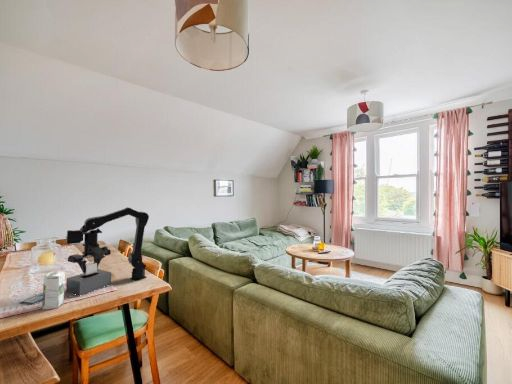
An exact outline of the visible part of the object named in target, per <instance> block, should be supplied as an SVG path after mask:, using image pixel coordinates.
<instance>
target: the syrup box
mask: <svg viewBox="0 0 512 384" xmlns="http://www.w3.org/2000/svg"><path fill="white" fill-rule="evenodd" d="M65 280H66V271H53V272H49V273H48V274H46V275H44V277H43V283H42V285H43V287H42V293H43V301H41V302H42V303H41V310H45V311H46V310H55V309H58V308H59V307H60V306H62V305H63V304H64V299H65V284H66V283H65V282H66V281H65Z"/></svg>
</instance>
